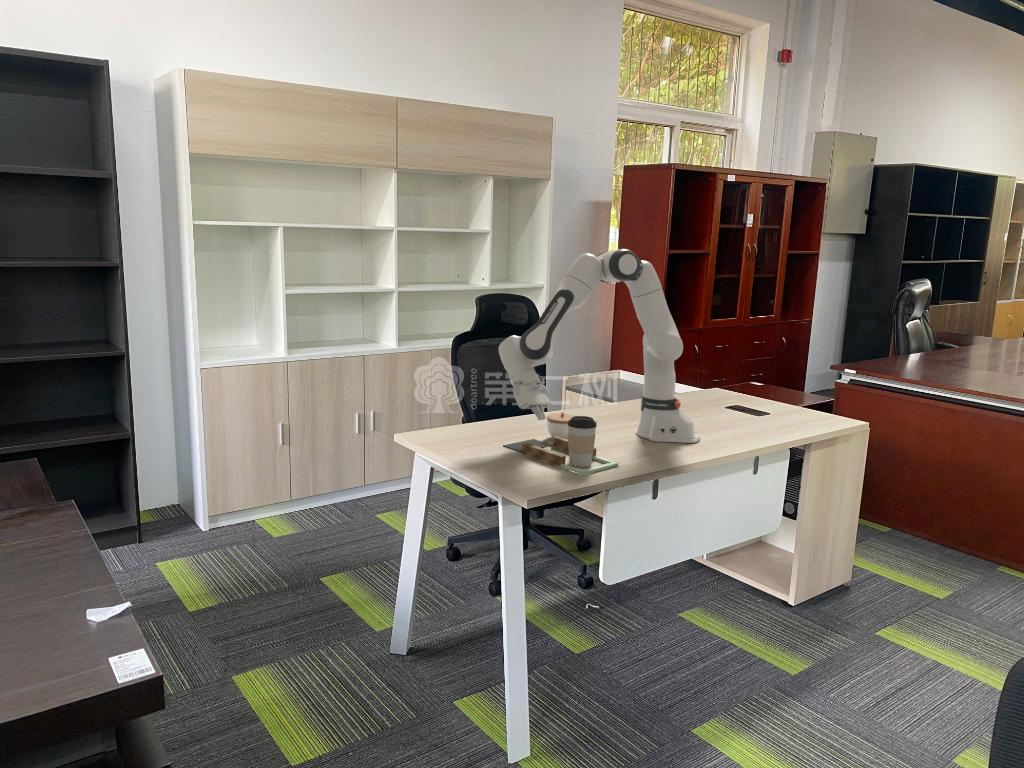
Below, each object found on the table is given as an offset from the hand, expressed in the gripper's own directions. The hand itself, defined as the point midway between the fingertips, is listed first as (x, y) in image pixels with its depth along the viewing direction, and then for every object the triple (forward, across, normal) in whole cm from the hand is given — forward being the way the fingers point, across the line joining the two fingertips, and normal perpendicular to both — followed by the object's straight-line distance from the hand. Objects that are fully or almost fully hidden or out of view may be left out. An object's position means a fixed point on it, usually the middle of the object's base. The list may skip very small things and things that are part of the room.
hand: (542, 419), depth 248 cm
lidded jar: (+6, +18, +4) cm, 19 cm away
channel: (+14, -3, -1) cm, 14 cm away
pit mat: (+5, +3, +10) cm, 12 cm away
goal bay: (+21, -8, -10) cm, 25 cm away
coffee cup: (+19, -6, -8) cm, 22 cm away
